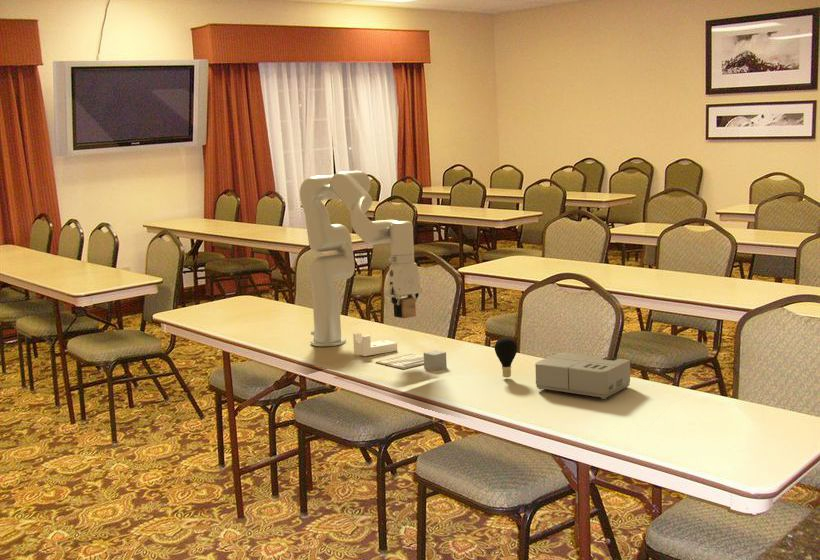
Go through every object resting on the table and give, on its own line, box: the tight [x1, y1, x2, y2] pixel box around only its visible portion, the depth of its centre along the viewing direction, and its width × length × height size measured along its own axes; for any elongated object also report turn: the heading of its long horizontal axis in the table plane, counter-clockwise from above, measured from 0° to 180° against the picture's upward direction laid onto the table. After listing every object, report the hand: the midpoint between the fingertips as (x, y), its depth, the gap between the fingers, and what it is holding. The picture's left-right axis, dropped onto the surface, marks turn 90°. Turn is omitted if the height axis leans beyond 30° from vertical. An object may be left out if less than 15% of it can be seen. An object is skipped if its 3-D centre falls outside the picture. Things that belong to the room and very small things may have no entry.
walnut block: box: [393, 296, 417, 319], centre depth 280 cm, size 5×5×6 cm
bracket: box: [352, 332, 398, 357], centre depth 296 cm, size 13×7×8 cm, turn 123°
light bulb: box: [494, 336, 518, 378], centre depth 256 cm, size 7×7×12 cm
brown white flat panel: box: [375, 353, 424, 371], centre depth 282 cm, size 14×16×1 cm
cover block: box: [423, 349, 448, 371], centre depth 272 cm, size 5×5×5 cm
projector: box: [534, 351, 631, 400], centre depth 243 cm, size 17×22×8 cm
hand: (404, 314), depth 281 cm, fingers closed on walnut block, 4 cm apart
